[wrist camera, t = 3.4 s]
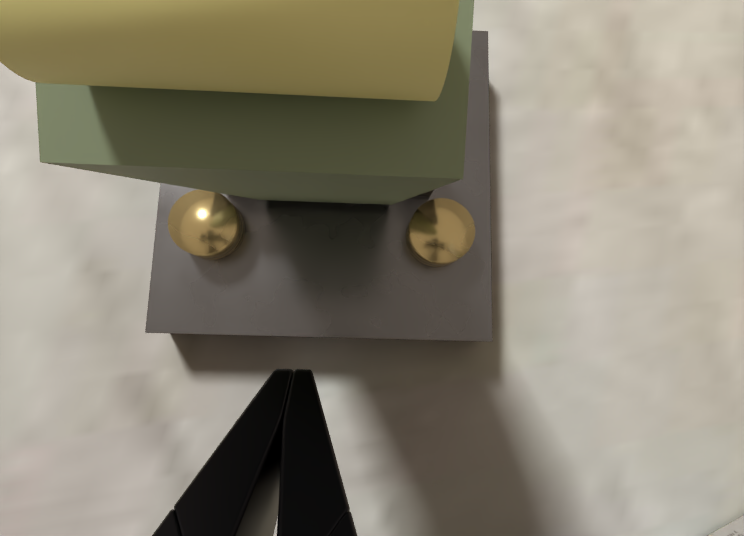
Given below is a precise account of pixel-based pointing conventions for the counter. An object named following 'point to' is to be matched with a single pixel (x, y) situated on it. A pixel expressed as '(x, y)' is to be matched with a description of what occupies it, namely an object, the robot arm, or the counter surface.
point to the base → (333, 256)
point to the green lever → (251, 92)
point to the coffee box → (731, 529)
